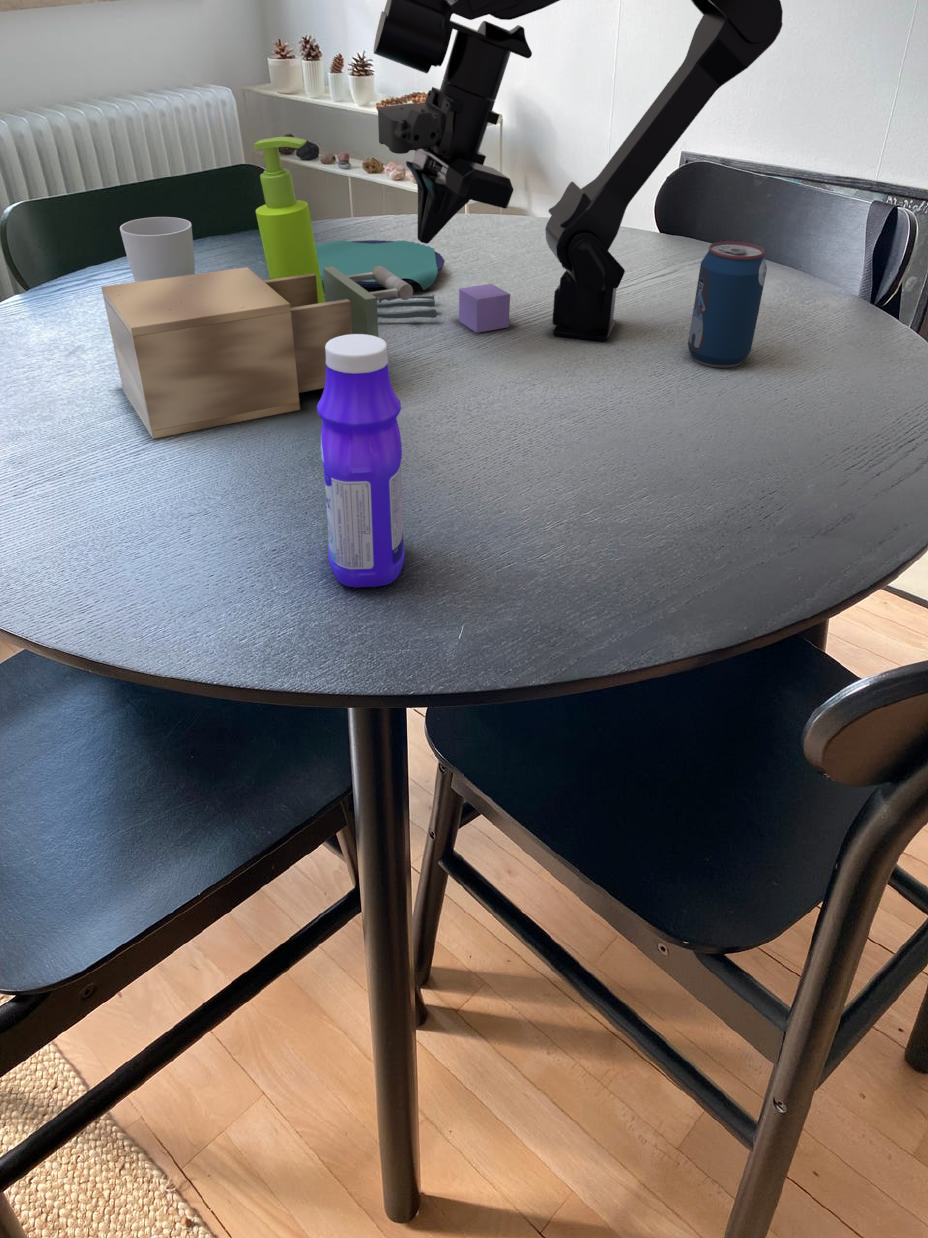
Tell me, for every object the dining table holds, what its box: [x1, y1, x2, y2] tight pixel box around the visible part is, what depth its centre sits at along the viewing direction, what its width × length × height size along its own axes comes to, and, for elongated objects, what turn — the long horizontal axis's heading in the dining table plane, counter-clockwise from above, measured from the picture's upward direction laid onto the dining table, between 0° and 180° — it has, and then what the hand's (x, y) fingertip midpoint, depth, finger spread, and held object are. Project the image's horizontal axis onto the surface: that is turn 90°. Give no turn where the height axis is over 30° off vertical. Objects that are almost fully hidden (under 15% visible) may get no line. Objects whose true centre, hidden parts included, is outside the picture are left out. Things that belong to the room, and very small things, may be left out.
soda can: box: [687, 240, 768, 369], centre depth 104 cm, size 7×7×12 cm
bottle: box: [316, 334, 405, 588], centre depth 67 cm, size 7×6×17 cm
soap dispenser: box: [253, 136, 325, 304], centre depth 108 cm, size 6×7×20 cm
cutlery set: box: [315, 239, 446, 319], centre depth 125 cm, size 20×30×2 cm, turn 4°
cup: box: [119, 216, 196, 282], centre depth 114 cm, size 8×8×10 cm
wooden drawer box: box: [101, 266, 301, 440], centre depth 93 cm, size 15×13×11 cm
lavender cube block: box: [458, 283, 511, 334], centre depth 114 cm, size 4×4×4 cm
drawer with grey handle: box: [262, 266, 414, 393], centre depth 98 cm, size 18×11×9 cm, turn 118°
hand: (422, 241), depth 105 cm, fingers closed
